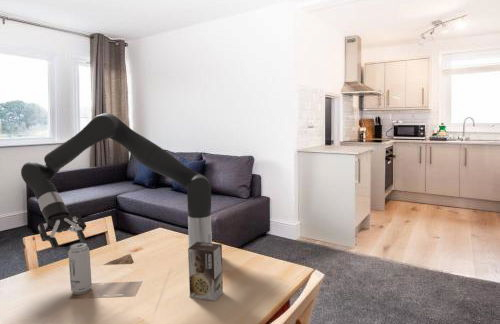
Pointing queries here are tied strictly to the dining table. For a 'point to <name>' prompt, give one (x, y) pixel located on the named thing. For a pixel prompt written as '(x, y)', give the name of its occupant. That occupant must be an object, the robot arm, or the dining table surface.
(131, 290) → the walnut board
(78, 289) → the energy drink can
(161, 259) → the dining table surface
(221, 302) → the dining table surface
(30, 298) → the dining table surface
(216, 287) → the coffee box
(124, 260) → the wooden fragment
